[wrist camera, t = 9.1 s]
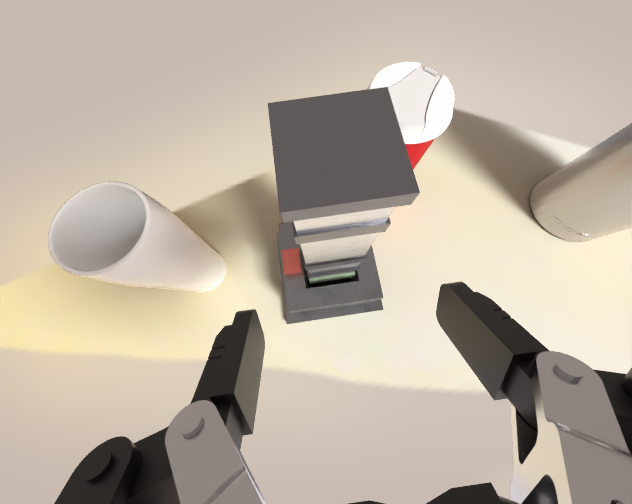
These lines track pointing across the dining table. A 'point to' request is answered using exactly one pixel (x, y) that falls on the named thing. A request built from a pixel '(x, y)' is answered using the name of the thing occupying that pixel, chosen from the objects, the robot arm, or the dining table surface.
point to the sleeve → (324, 299)
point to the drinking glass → (131, 242)
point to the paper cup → (417, 103)
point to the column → (339, 175)
